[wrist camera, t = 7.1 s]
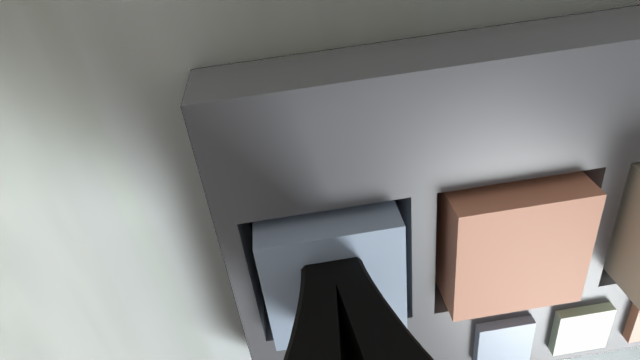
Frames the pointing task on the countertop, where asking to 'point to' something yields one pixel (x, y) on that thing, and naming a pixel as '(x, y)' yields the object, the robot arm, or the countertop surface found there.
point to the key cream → (627, 240)
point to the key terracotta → (516, 244)
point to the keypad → (428, 158)
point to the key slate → (329, 256)
